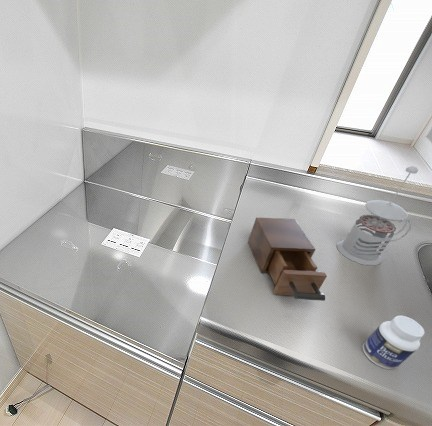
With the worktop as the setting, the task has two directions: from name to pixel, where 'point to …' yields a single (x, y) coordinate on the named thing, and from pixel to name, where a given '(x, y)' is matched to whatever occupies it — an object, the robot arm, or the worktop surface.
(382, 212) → the french press
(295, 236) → the cabinet
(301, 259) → the drawer
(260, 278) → the worktop surface
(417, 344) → the pill bottle
